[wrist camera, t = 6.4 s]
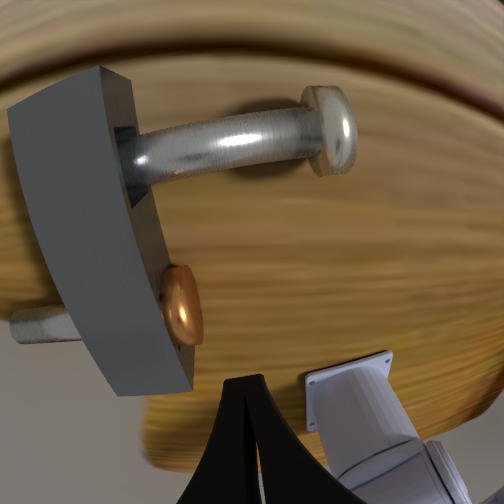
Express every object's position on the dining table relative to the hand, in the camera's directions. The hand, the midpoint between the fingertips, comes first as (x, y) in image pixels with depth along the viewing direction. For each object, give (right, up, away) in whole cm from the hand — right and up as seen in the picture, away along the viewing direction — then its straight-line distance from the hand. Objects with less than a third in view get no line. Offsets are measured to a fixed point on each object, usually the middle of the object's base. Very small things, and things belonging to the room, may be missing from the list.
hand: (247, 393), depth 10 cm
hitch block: (-7, +6, +6) cm, 11 cm away
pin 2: (-3, +11, +5) cm, 12 cm away
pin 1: (-10, +2, +8) cm, 13 cm away
